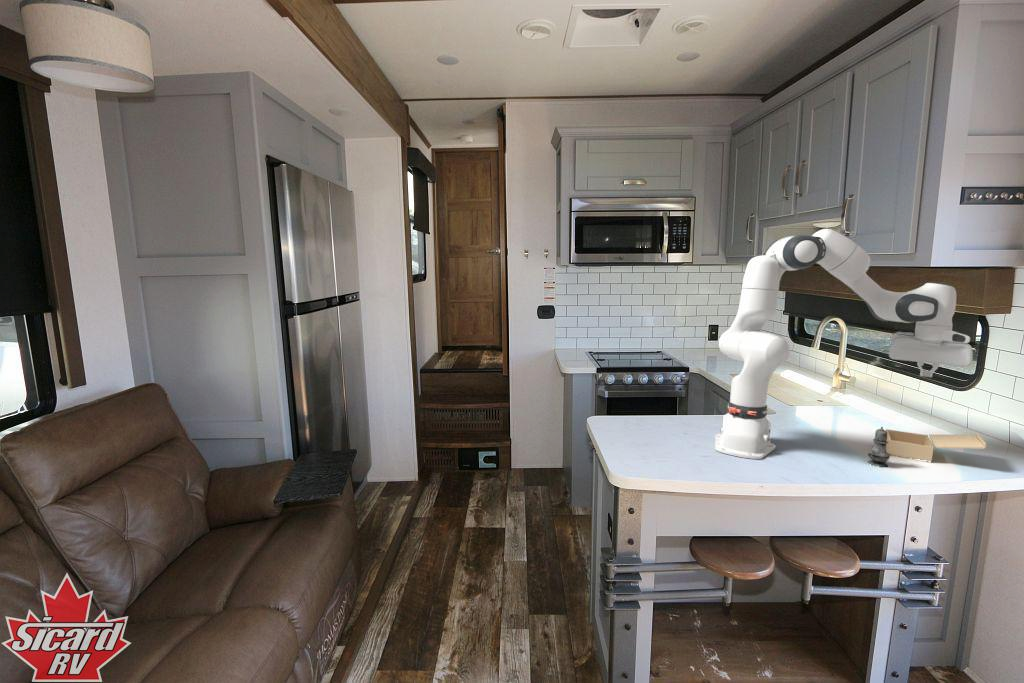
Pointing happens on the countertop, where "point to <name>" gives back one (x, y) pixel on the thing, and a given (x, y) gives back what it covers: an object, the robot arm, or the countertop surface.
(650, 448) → the countertop surface
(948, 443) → the lid
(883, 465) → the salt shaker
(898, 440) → the mailer box
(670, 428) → the countertop surface
